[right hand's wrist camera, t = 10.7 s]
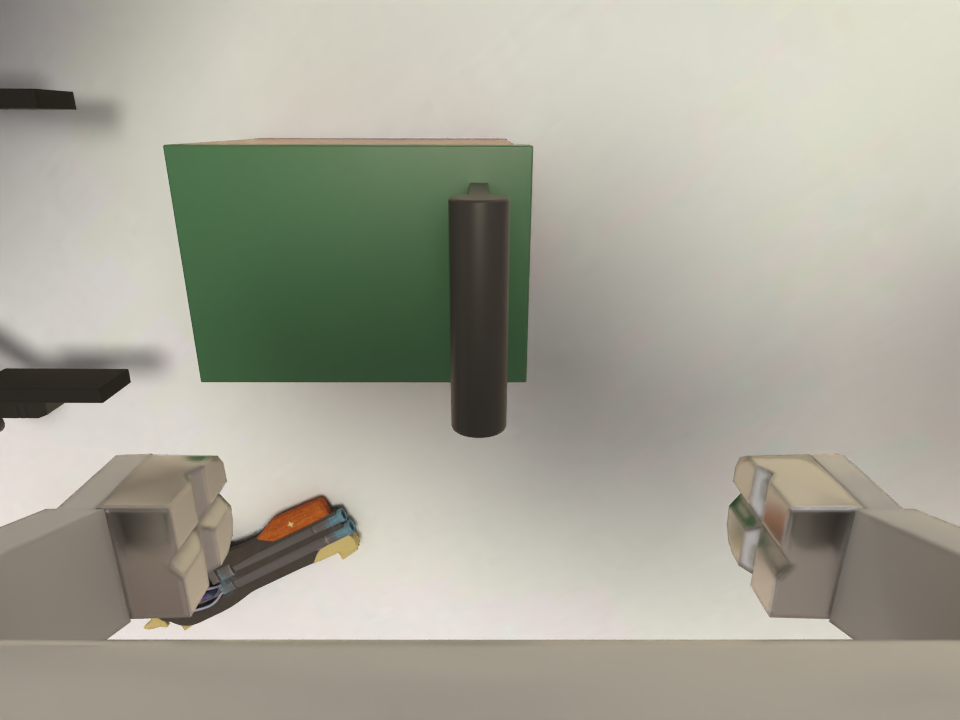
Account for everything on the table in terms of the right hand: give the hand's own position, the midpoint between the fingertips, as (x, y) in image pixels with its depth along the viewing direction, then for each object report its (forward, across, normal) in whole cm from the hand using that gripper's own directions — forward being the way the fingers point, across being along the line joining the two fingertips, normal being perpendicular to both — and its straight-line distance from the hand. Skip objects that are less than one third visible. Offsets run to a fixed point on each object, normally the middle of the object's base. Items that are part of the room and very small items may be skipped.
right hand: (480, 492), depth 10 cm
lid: (+18, +5, 0) cm, 18 cm away
